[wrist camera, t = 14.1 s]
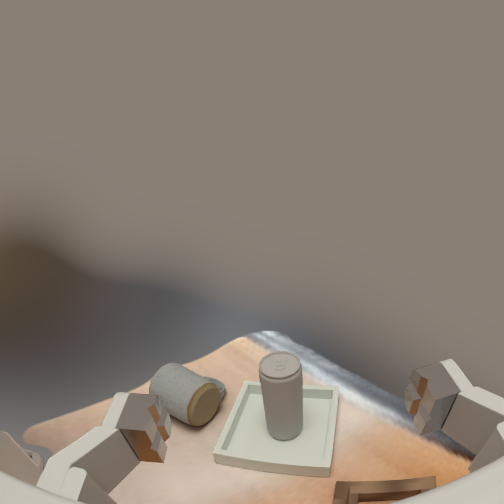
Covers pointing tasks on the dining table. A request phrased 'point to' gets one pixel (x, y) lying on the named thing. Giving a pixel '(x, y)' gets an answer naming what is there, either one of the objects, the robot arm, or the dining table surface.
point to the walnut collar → (381, 490)
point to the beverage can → (282, 394)
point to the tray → (275, 450)
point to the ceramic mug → (187, 393)
